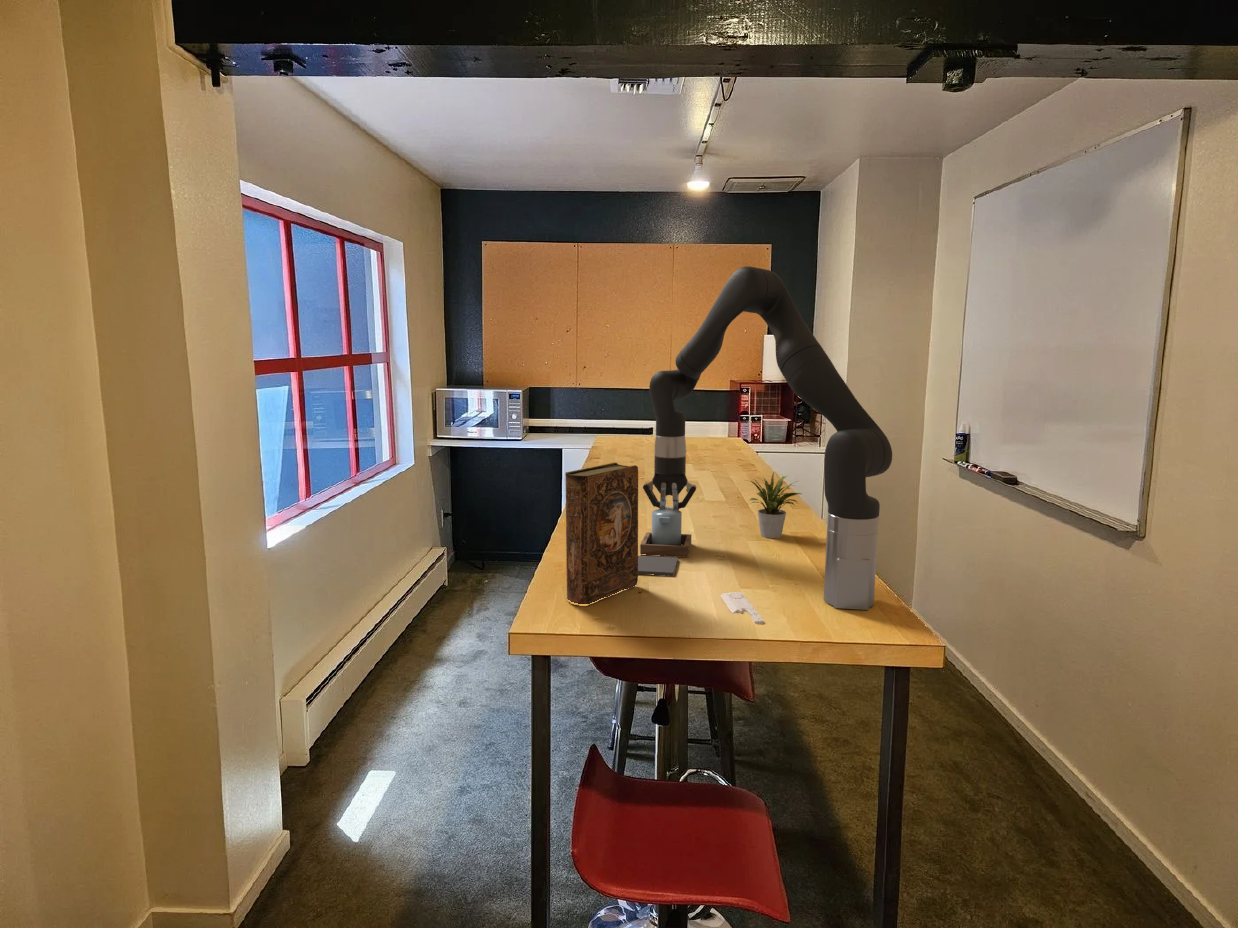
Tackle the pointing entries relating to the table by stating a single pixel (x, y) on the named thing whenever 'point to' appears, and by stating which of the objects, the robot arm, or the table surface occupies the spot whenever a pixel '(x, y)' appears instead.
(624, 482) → the book
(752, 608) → the white plastic strip tool
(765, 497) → the house plant
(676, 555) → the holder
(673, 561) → the mat
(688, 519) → the table surface
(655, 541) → the jug
